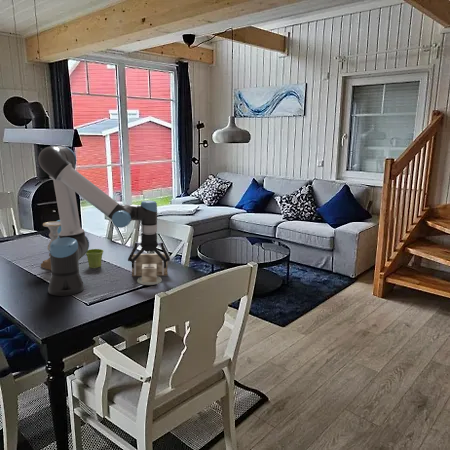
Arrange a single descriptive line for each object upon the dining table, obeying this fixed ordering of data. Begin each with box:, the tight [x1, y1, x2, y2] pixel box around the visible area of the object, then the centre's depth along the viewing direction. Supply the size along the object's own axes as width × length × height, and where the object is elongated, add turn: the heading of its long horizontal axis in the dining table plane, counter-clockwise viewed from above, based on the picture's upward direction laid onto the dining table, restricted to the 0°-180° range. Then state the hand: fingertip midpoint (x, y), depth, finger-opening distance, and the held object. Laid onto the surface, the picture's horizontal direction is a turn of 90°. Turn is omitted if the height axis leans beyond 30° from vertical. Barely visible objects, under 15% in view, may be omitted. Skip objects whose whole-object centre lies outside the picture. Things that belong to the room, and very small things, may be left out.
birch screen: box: [131, 253, 169, 277], centre depth 205 cm, size 18×4×11 cm, turn 99°
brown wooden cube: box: [141, 264, 157, 282], centre depth 197 cm, size 7×7×7 cm
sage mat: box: [136, 276, 163, 286], centre depth 198 cm, size 12×12×1 cm
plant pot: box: [85, 248, 104, 269], centre depth 215 cm, size 9×9×9 cm
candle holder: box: [40, 220, 61, 271], centre depth 212 cm, size 11×11×24 cm
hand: (149, 274), depth 197 cm, fingers open, 13 cm apart
